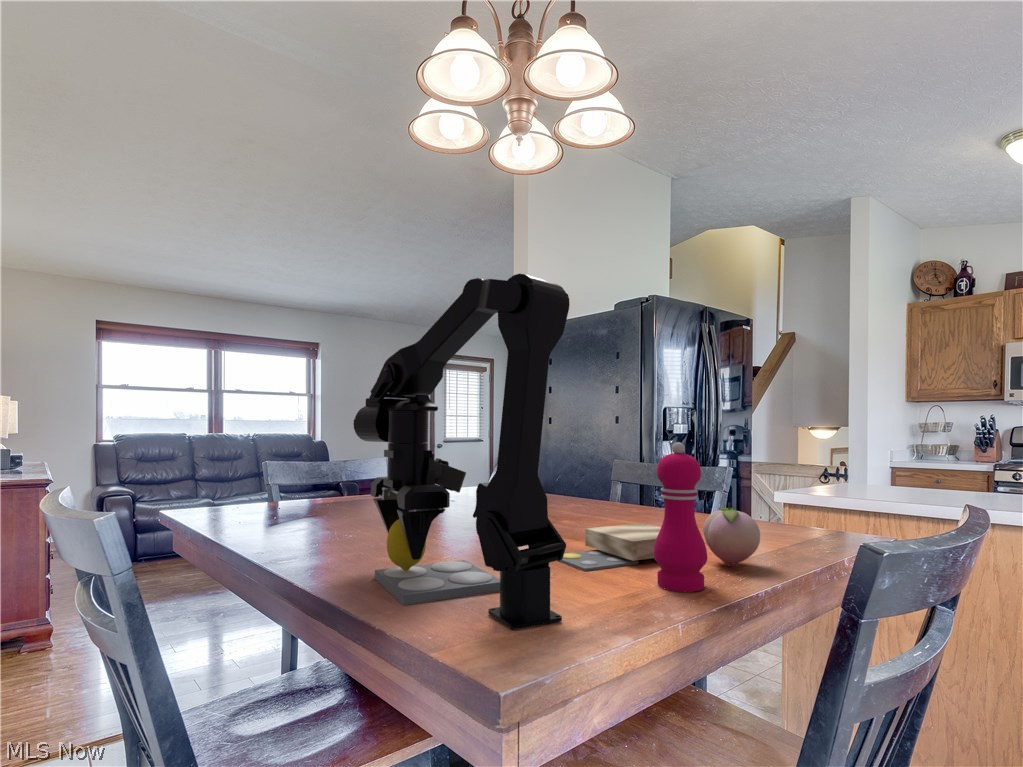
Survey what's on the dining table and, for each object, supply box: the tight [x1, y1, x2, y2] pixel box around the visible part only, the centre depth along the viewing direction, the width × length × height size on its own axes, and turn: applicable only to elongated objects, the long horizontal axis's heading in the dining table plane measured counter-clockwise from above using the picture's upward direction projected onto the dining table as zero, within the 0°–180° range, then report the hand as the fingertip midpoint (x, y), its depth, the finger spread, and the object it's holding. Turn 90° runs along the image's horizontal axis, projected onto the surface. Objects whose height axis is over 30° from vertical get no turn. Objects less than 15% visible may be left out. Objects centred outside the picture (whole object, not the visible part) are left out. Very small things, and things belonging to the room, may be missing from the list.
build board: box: [374, 559, 500, 606], centre depth 80 cm, size 14×14×1 cm
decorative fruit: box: [702, 502, 761, 567], centre depth 92 cm, size 9×8×10 cm
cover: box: [584, 522, 661, 561], centre depth 99 cm, size 13×13×3 cm
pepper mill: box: [653, 441, 708, 593], centre depth 80 cm, size 7×7×20 cm
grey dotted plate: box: [559, 549, 639, 572], centre depth 94 cm, size 10×10×1 cm
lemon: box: [386, 519, 427, 571], centre depth 81 cm, size 6×6×8 cm
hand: (406, 552), depth 81 cm, fingers open, 9 cm apart
